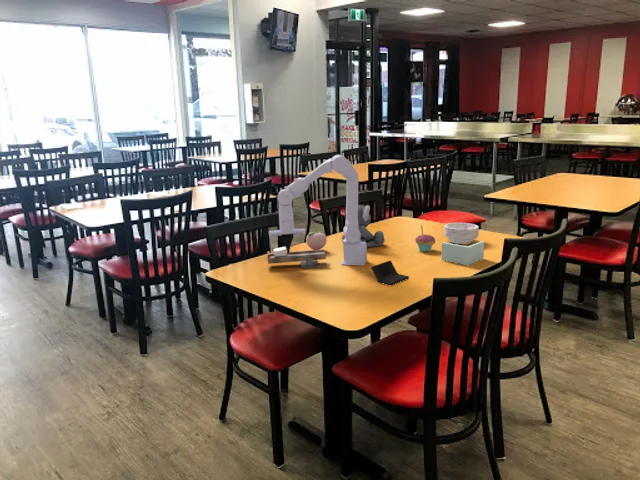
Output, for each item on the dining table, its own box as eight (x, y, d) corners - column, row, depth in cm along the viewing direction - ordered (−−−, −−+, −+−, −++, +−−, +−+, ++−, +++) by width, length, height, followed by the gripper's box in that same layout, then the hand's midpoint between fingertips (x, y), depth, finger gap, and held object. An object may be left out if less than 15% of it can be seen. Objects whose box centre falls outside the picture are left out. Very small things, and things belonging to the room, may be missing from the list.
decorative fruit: (315, 255, 224) (314, 232, 222) (303, 251, 230) (302, 230, 228) (331, 250, 230) (330, 229, 228) (319, 247, 236) (318, 226, 234)
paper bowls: (482, 240, 238) (482, 223, 236) (472, 248, 226) (473, 230, 224) (450, 237, 246) (450, 220, 244) (439, 244, 234) (439, 227, 232)
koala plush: (387, 245, 236) (387, 203, 231) (356, 252, 226) (355, 208, 221) (363, 238, 250) (362, 198, 245) (333, 245, 240) (332, 203, 235)
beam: (324, 254, 214) (323, 246, 214) (325, 259, 207) (325, 250, 207) (268, 258, 213) (267, 250, 212) (268, 263, 206) (267, 255, 205)
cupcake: (413, 252, 222) (413, 225, 219) (417, 247, 230) (417, 221, 227) (433, 253, 219) (433, 226, 216) (436, 248, 227) (437, 222, 224)
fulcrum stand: (316, 260, 216) (316, 251, 215) (319, 267, 206) (318, 258, 205) (300, 261, 216) (299, 252, 215) (301, 268, 206) (301, 259, 205)
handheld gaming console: (395, 282, 181) (382, 258, 183) (381, 291, 185) (368, 267, 187) (411, 278, 190) (398, 254, 192) (397, 287, 194) (384, 264, 196)
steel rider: (287, 253, 211) (285, 246, 211) (287, 256, 207) (285, 249, 206) (275, 255, 211) (273, 248, 210) (275, 258, 207) (273, 251, 206)
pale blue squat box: (483, 259, 209) (484, 241, 207) (468, 266, 201) (468, 247, 199) (457, 254, 218) (457, 236, 216) (441, 260, 209) (442, 242, 208)
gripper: (303, 216, 210) (305, 248, 213) (268, 218, 209) (270, 250, 212) (304, 220, 203) (306, 253, 207) (268, 222, 202) (270, 255, 206)
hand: (288, 252), depth 209 cm, fingers closed
